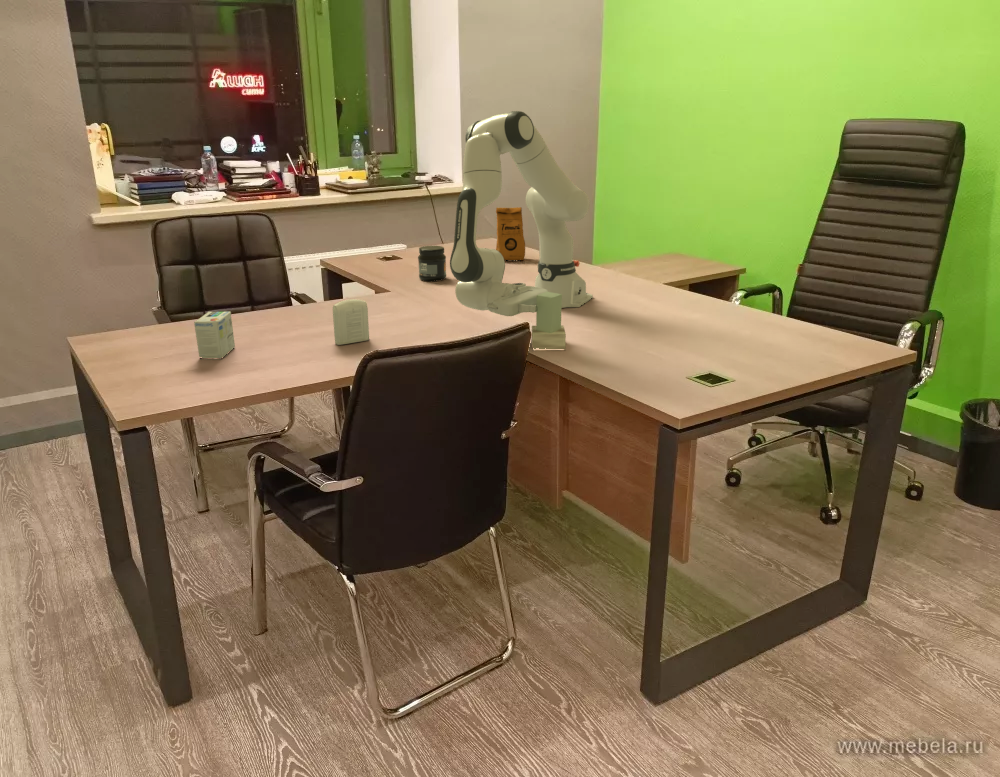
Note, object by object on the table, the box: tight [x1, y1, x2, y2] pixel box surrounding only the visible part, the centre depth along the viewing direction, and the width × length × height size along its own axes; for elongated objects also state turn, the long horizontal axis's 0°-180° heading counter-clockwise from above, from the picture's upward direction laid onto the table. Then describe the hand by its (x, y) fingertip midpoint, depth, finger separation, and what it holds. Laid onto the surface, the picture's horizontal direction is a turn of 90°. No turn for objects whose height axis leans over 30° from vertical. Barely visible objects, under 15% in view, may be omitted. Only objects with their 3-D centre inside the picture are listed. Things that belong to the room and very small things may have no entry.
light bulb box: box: [193, 310, 236, 358], centre depth 224 cm, size 11×7×11 cm, turn 178°
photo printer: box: [332, 298, 370, 346], centre depth 233 cm, size 10×4×12 cm, turn 123°
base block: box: [531, 324, 567, 350], centre depth 228 cm, size 9×9×5 cm
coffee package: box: [495, 207, 526, 261], centre depth 340 cm, size 10×12×22 cm
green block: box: [535, 292, 563, 333], centre depth 226 cm, size 5×5×10 cm
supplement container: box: [417, 245, 447, 282], centre depth 309 cm, size 10×10×12 cm
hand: (545, 305), depth 226 cm, fingers open, 8 cm apart
